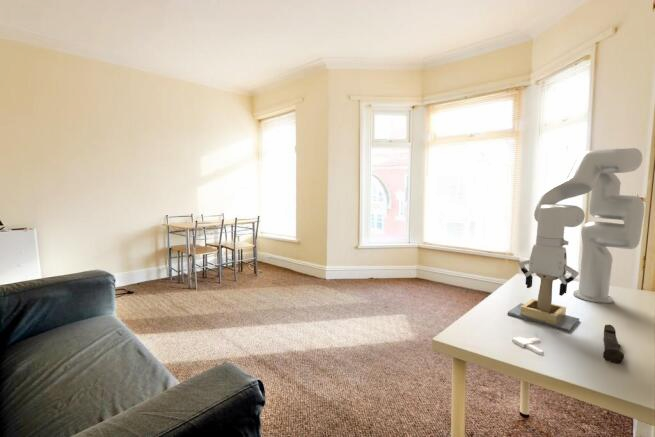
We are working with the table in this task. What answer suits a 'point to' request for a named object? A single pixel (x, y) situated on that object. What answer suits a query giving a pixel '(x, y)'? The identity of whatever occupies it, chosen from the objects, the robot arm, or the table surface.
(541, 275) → the handle
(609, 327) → the dark brown carved statuette
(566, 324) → the collar base
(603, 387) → the table surface
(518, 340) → the corner connector
